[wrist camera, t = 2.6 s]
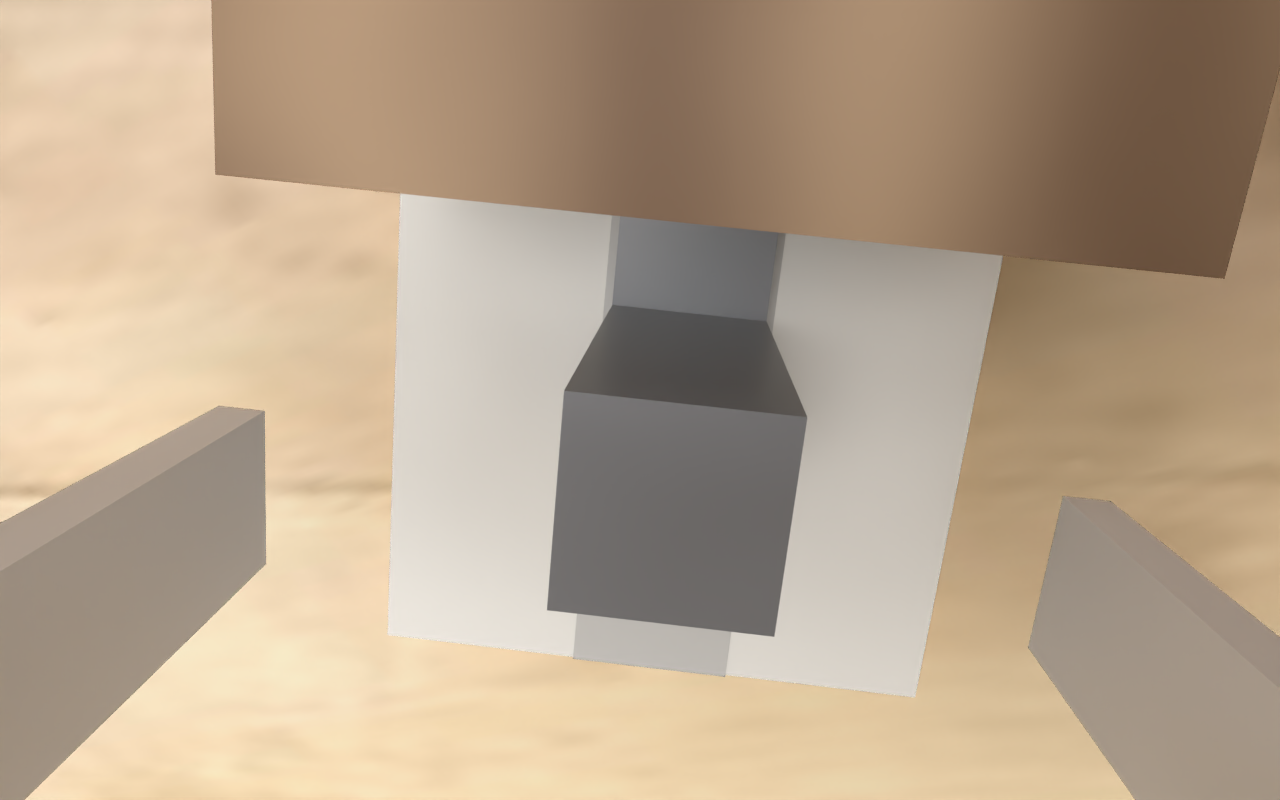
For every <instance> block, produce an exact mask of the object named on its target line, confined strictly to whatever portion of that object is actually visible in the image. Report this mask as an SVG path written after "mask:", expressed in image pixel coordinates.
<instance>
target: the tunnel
mask: <svg viewBox="0 0 1280 800" xmlns="http://www.w3.org/2000/svg"><path fill="white" fill-rule="evenodd" d="M211 2H212V45H213V89H214V133H215V175H225V176H235V177H244V178H254V179H264V180H274V181H283V182H293V183H303V184H312V185H322V186H332V187H341V188H351V189H361V190H370V191H380V192H390V193H400V194H409V195H419V196H429V197H438V198H448V199H458V200H467V201H477V202H487V203H496V204H506V205H516V206H526V207H535V208H545V209H555V210H564V211H574V212H584V213H593V214H603V215H613V216H622V217H632V218H642V219H652V220H661V221H671V222H681V223H690V224H700V225H710V226H719V227H729V228H739V229H749V230H758V231H768V232H778V233H787V234H797V235H807V236H816V237H826V238H836V239H845V240H855V241H865V242H875V243H884V244H894V245H904V246H913V247H923V248H933V249H942V250H952V251H962V252H971V253H981V254H991V255H1001V256H1010V257H1020V258H1030V259H1039V260H1049V261H1059V262H1068V263H1078V264H1088V265H1097V266H1107V267H1117V268H1127V269H1136V270H1146V271H1156V272H1165V273H1175V274H1185V275H1194V276H1204V277H1214V278H1223V279H1225V275H1226V271H1227V267H1228V263H1229V260H1230V256H1231V252H1232V248H1233V244H1234V241H1235V237H1236V233H1237V229H1238V225H1239V222H1240V218H1241V214H1242V210H1243V206H1244V203H1245V199H1246V195H1247V191H1248V188H1249V184H1250V180H1251V176H1252V172H1253V169H1254V165H1255V161H1256V157H1257V153H1258V150H1259V146H1260V142H1261V138H1262V134H1263V131H1264V127H1265V123H1266V119H1267V115H1268V112H1269V108H1270V104H1271V100H1272V97H1273V93H1274V89H1275V85H1276V81H1277V78H1278V74H1279V70H1280V0H211Z"/></svg>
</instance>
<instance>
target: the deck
mask: <svg viewBox="0 0 1280 800" xmlns="http://www.w3.org/2000/svg"><path fill="white" fill-rule="evenodd" d="M619 223H620V216H613V215H603V214H593V213H584V212H574V211H564V210H555V209H545V208H535V207H526V206H516V205H506V204H496V203H487V202H477V201H467V200H458V199H448V198H438V197H429V196H419V195H409V194H400V219H399V254H398V290H397V325H396V360H395V395H394V431H393V466H392V501H391V536H390V572H389V607H388V635H392V636H401V637H409V638H418V639H426V640H435V641H443V642H452V643H460V644H468V645H477V646H485V647H494V648H502V649H511V650H519V651H527V652H536V653H544V654H553V655H561V656H570V657H573V659H580V660H588V661H597V662H605V663H614V664H622V665H630V666H639V667H647V668H656V669H664V670H673V671H681V672H689V673H698V674H706V675H715V676H723V677H725V675H730V676H738V677H747V678H755V679H764V680H772V681H781V682H789V683H797V684H806V685H814V686H823V687H831V688H840V689H848V690H856V691H865V692H873V693H882V694H890V695H899V696H907V697H915V695H916V690H917V685H918V680H919V675H920V670H921V665H922V660H923V655H924V650H925V645H926V640H927V635H928V630H929V625H930V620H931V615H932V610H933V605H934V600H935V595H936V590H937V585H938V580H939V575H940V570H941V565H942V560H943V555H944V550H945V545H946V540H947V535H948V530H949V525H950V520H951V515H952V510H953V505H954V500H955V495H956V490H957V485H958V480H959V475H960V470H961V465H962V460H963V455H964V450H965V445H966V440H967V435H968V430H969V425H970V420H971V415H972V410H973V405H974V400H975V395H976V390H977V385H978V380H979V375H980V370H981V365H982V360H983V355H984V350H985V344H986V339H987V334H988V329H989V324H990V319H991V314H992V309H993V304H994V299H995V294H996V289H997V284H998V279H999V274H1000V269H1001V264H1002V259H1003V256H1001V255H991V254H981V253H971V252H962V251H952V250H942V249H933V248H923V247H913V246H904V245H894V244H884V243H875V242H865V241H855V240H845V239H836V238H826V237H816V236H807V235H797V234H787V233H778V240H777V248H776V255H775V262H774V270H773V277H772V285H771V292H770V299H769V307H768V314H767V324H768V326H769V328H770V331H771V333H772V335H773V338H774V340H775V342H776V345H777V347H778V349H779V352H780V354H781V356H782V359H783V361H784V363H785V366H786V368H787V370H788V373H789V375H790V377H791V380H792V382H793V385H794V387H795V389H796V392H797V394H798V396H799V399H800V401H801V403H802V406H803V408H804V410H805V413H806V415H807V424H806V431H805V437H804V444H803V450H802V457H801V464H800V470H799V477H798V484H797V490H796V497H795V503H794V510H793V517H792V523H791V530H790V537H789V543H788V550H787V556H786V563H785V570H784V576H783V583H782V590H781V596H780V603H779V609H778V616H777V623H776V629H775V636H774V637H771V636H763V635H754V634H746V633H737V632H728V631H720V630H711V629H703V628H694V627H686V626H677V625H669V624H660V623H652V622H643V621H634V620H626V619H617V618H609V617H600V616H592V615H583V614H575V613H566V612H558V611H549V610H547V602H548V589H549V576H550V563H551V550H552V538H553V525H554V512H555V499H556V486H557V474H558V461H559V448H560V435H561V423H562V410H563V397H564V390H565V388H566V386H567V384H568V383H569V381H570V379H571V377H572V376H573V374H574V372H575V370H576V368H577V367H578V365H579V363H580V361H581V359H582V358H583V356H584V354H585V352H586V351H587V349H588V347H589V345H590V343H591V342H592V340H593V338H594V336H595V335H596V333H597V331H598V329H599V327H600V326H601V324H602V322H603V320H604V319H605V317H606V315H607V313H608V311H609V310H610V308H611V306H612V301H613V290H614V279H615V267H616V256H617V245H618V234H619Z"/></svg>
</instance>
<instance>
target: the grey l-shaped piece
mask: <svg viewBox="0 0 1280 800" xmlns="http://www.w3.org/2000/svg"><path fill="white" fill-rule="evenodd" d="M777 240H778V232H768V231H758V230H749V229H739V228H729V227H719V226H710V225H700V224H690V223H681V222H671V221H661V220H652V219H642V218H632V217H622V216H620V223H619V234H618V245H617V256H616V267H615V279H614V290H613V301H612V306H611V308H610V310H609V311H608V313H607V315H606V317H605V319H604V320H603V322H602V324H601V326H600V327H599V329H598V331H597V333H596V335H595V336H594V338H593V340H592V342H591V343H590V345H589V347H588V349H587V351H586V352H585V354H584V356H583V358H582V359H581V361H580V363H579V365H578V367H577V368H576V370H575V372H574V374H573V376H572V377H571V379H570V381H569V383H568V384H567V386H566V388H565V390H564V397H563V410H562V423H561V435H560V448H559V461H558V474H557V486H556V499H555V512H554V525H553V538H552V550H551V563H550V576H549V589H548V602H547V610H549V611H558V612H566V613H575V614H583V615H592V616H600V617H609V618H617V619H626V620H634V621H643V622H652V623H660V624H669V625H677V626H686V627H694V628H703V629H711V630H720V631H728V632H737V633H746V634H754V635H763V636H771V637H774V636H775V629H776V623H777V616H778V609H779V603H780V596H781V590H782V583H783V576H784V570H785V563H786V556H787V550H788V543H789V537H790V530H791V523H792V517H793V510H794V503H795V497H796V490H797V484H798V477H799V470H800V464H801V457H802V450H803V444H804V437H805V431H806V424H807V415H806V413H805V410H804V408H803V406H802V403H801V401H800V399H799V396H798V394H797V392H796V389H795V387H794V385H793V382H792V380H791V377H790V375H789V373H788V370H787V368H786V366H785V363H784V361H783V359H782V356H781V354H780V352H779V349H778V347H777V345H776V342H775V340H774V338H773V335H772V333H771V331H770V328H769V326H768V324H767V314H768V307H769V299H770V292H771V285H772V277H773V270H774V262H775V255H776V248H777Z"/></svg>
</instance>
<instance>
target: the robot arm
mask: <svg viewBox="0 0 1280 800" xmlns="http://www.w3.org/2000/svg"><path fill="white" fill-rule="evenodd" d="M265 564H266V510H265V411H262V410H252V409H243V408H234V407H224V406H218V407H216V408H214V409H212V410H210V411H208V412H207V413H205V414H203V415H201V416H199V417H197V418H195V419H194V420H192V421H190V422H188V423H186V424H184V425H182V426H180V427H179V428H177V429H175V430H173V431H171V432H169V433H167V434H166V435H164V436H162V437H160V438H158V439H156V440H154V441H153V442H151V443H149V444H147V445H145V446H143V447H141V448H139V449H138V450H136V451H134V452H132V453H130V454H128V455H126V456H125V457H123V458H121V459H119V460H117V461H115V462H113V463H111V464H110V465H108V466H106V467H104V468H102V469H100V470H98V471H97V472H95V473H93V474H91V475H89V476H87V477H85V478H84V479H82V480H80V481H78V482H76V483H74V484H72V485H70V486H69V487H67V488H65V489H63V490H61V491H59V492H57V493H56V494H54V495H52V496H50V497H48V498H46V499H44V500H43V501H41V502H39V503H37V504H35V505H33V506H31V507H29V508H28V509H26V510H24V511H22V512H20V513H18V514H16V515H15V516H13V517H11V518H9V519H7V520H5V521H3V522H0V800H25V799H26V798H27V797H28V796H29V795H30V794H31V793H32V792H33V791H34V790H35V789H36V788H37V787H38V786H39V785H40V784H41V783H42V782H43V781H44V780H45V779H46V778H47V777H48V776H49V775H50V774H51V773H52V772H53V771H54V770H55V769H56V768H57V767H58V766H60V765H61V764H62V763H63V762H64V761H65V760H66V759H67V758H68V757H69V756H70V755H71V754H72V753H73V752H74V751H75V750H76V749H77V748H78V747H79V746H80V745H81V744H82V743H83V742H84V741H85V740H86V739H87V738H88V737H89V736H90V735H91V734H92V733H93V732H94V731H95V730H96V729H97V728H98V727H99V726H100V725H101V724H103V723H104V722H105V721H106V720H107V719H108V718H109V717H110V716H111V715H112V714H113V713H114V712H115V711H116V710H117V709H118V708H119V707H120V706H121V705H122V704H123V703H124V702H125V701H126V700H127V699H128V698H129V697H130V696H131V695H132V694H133V693H134V692H135V691H136V690H137V689H138V688H139V687H140V686H141V685H142V684H143V683H145V682H146V681H147V680H148V679H149V678H150V677H151V676H152V675H153V674H154V673H155V672H156V671H157V670H158V669H159V668H160V667H161V666H162V665H163V664H164V663H165V662H166V661H167V660H168V659H169V658H170V657H171V656H172V655H173V654H174V653H175V652H176V651H177V650H178V649H179V648H180V647H181V646H182V645H183V644H184V643H185V642H187V641H188V640H189V639H190V638H191V637H192V636H193V635H194V634H195V633H196V632H197V631H198V630H199V629H200V628H201V627H202V626H203V625H204V624H205V623H206V622H207V621H208V620H209V619H210V618H211V617H212V616H213V615H214V614H215V613H216V612H217V611H218V610H219V609H220V608H221V607H222V606H223V605H224V604H225V603H226V602H227V601H228V600H230V599H231V598H232V597H233V596H234V595H235V594H236V593H237V592H238V591H239V590H240V589H241V588H242V587H243V586H244V585H245V584H246V583H247V582H248V581H249V580H250V579H251V578H252V577H253V576H254V575H255V574H256V573H257V572H258V571H259V570H260V569H261V568H262V567H263V566H264V565H265ZM1028 648H1029V650H1030V651H1031V652H1032V654H1033V655H1034V657H1035V658H1036V660H1037V661H1038V662H1039V664H1040V665H1041V667H1042V668H1043V669H1044V671H1045V672H1046V674H1047V675H1048V677H1049V678H1050V679H1051V681H1052V682H1053V684H1054V685H1055V687H1056V688H1057V689H1058V691H1059V692H1060V694H1061V695H1062V696H1063V698H1064V699H1065V701H1066V702H1067V704H1068V705H1069V706H1070V708H1071V709H1072V711H1073V712H1074V714H1075V715H1076V716H1077V718H1078V719H1079V721H1080V722H1081V723H1082V725H1083V726H1084V728H1085V729H1086V731H1087V732H1088V733H1089V735H1090V736H1091V738H1092V739H1093V740H1094V742H1095V743H1096V745H1097V746H1098V748H1099V749H1100V750H1101V752H1102V753H1103V755H1104V756H1105V758H1106V759H1107V760H1108V762H1109V763H1110V765H1111V766H1112V767H1113V769H1114V770H1115V772H1116V773H1117V775H1118V776H1119V777H1120V779H1121V780H1122V782H1123V783H1124V784H1125V786H1126V787H1127V789H1128V790H1129V792H1130V793H1131V794H1132V796H1133V797H1134V799H1135V800H1280V637H1279V636H1278V635H1276V634H1275V633H1274V632H1273V631H1271V630H1270V629H1269V628H1268V627H1266V626H1265V625H1264V624H1263V623H1261V622H1260V621H1259V620H1258V619H1256V618H1255V617H1254V616H1253V615H1251V614H1250V613H1249V612H1248V611H1246V610H1245V609H1244V608H1243V607H1242V606H1240V605H1239V604H1238V603H1237V602H1235V601H1234V600H1233V599H1232V598H1230V597H1229V596H1228V595H1227V594H1225V593H1224V592H1223V591H1222V590H1220V589H1219V588H1218V587H1217V586H1215V585H1214V584H1213V583H1212V582H1210V581H1209V580H1208V579H1207V578H1205V577H1204V576H1203V575H1202V574H1200V573H1199V572H1198V571H1197V570H1195V569H1194V568H1193V567H1192V566H1191V565H1189V564H1188V563H1187V562H1186V561H1184V560H1183V559H1182V558H1181V557H1179V556H1178V555H1177V554H1176V553H1174V552H1173V551H1172V550H1171V549H1169V548H1168V547H1167V546H1166V545H1164V544H1163V543H1162V542H1161V541H1159V540H1158V539H1157V538H1156V537H1154V536H1153V535H1152V534H1151V533H1149V532H1148V531H1147V530H1146V529H1144V528H1143V527H1142V526H1141V525H1140V524H1138V523H1137V522H1136V521H1135V520H1133V519H1132V518H1131V517H1130V516H1128V515H1127V514H1126V513H1125V512H1123V511H1122V510H1121V509H1120V508H1118V507H1117V506H1116V505H1115V504H1113V503H1112V502H1111V501H1104V500H1095V499H1086V498H1076V497H1067V496H1063V499H1062V503H1061V507H1060V512H1059V516H1058V520H1057V525H1056V529H1055V533H1054V538H1053V542H1052V546H1051V551H1050V555H1049V559H1048V564H1047V568H1046V572H1045V577H1044V581H1043V585H1042V590H1041V594H1040V598H1039V603H1038V607H1037V611H1036V616H1035V620H1034V624H1033V629H1032V633H1031V637H1030V642H1029V646H1028Z"/></svg>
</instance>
